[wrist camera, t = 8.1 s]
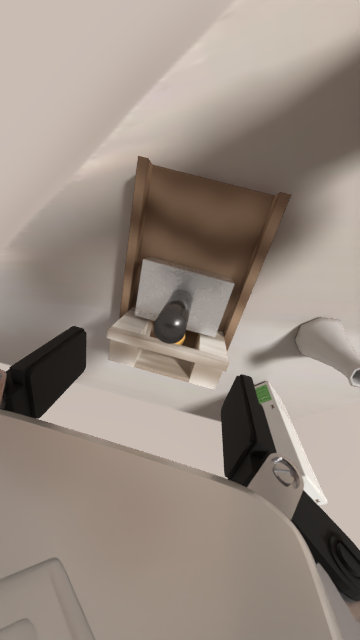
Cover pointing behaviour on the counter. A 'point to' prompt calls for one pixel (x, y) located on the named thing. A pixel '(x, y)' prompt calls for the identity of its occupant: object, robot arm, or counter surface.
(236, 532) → the robot arm
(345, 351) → the flask
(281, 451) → the skincare box
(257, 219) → the wooden tray
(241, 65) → the counter surface
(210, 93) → the counter surface
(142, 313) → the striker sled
